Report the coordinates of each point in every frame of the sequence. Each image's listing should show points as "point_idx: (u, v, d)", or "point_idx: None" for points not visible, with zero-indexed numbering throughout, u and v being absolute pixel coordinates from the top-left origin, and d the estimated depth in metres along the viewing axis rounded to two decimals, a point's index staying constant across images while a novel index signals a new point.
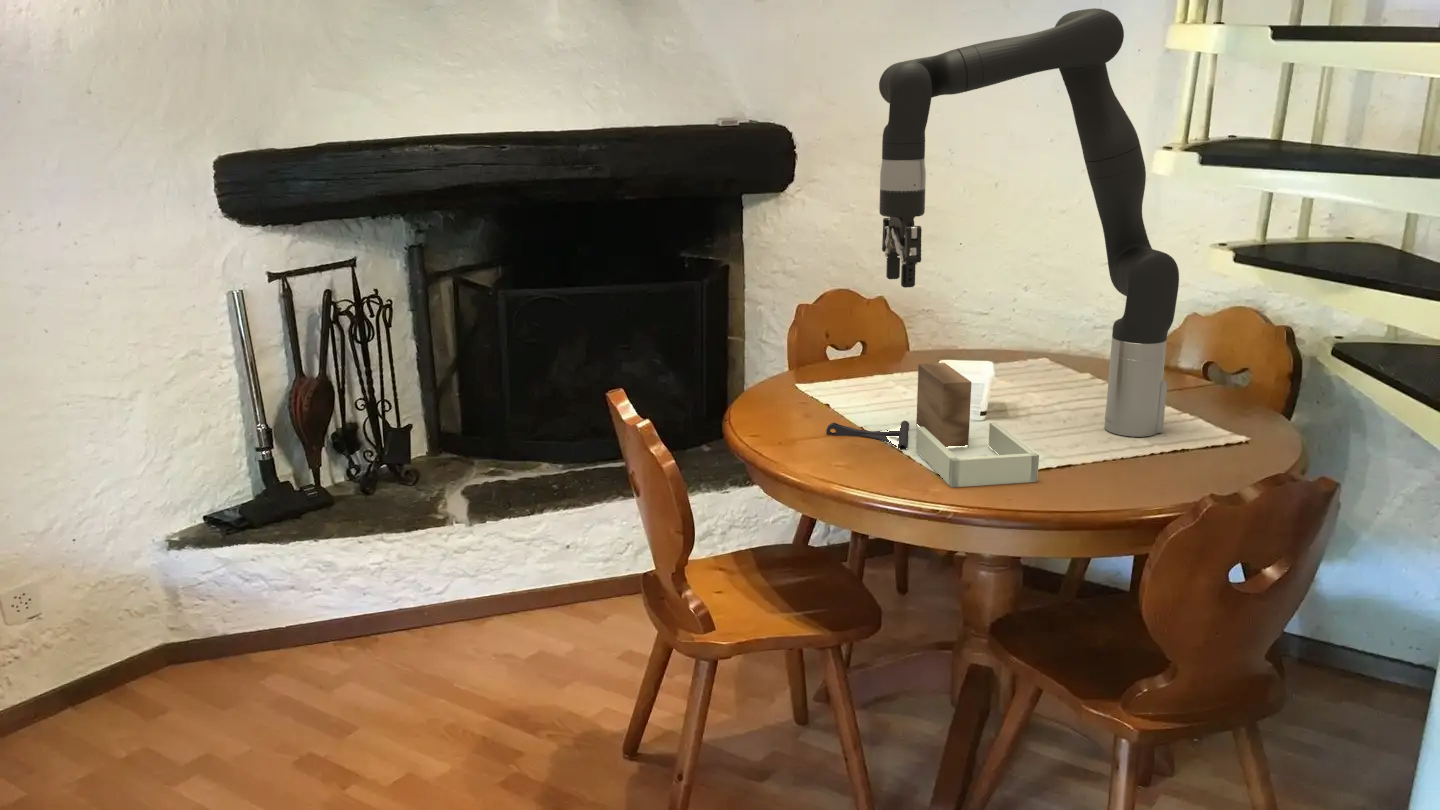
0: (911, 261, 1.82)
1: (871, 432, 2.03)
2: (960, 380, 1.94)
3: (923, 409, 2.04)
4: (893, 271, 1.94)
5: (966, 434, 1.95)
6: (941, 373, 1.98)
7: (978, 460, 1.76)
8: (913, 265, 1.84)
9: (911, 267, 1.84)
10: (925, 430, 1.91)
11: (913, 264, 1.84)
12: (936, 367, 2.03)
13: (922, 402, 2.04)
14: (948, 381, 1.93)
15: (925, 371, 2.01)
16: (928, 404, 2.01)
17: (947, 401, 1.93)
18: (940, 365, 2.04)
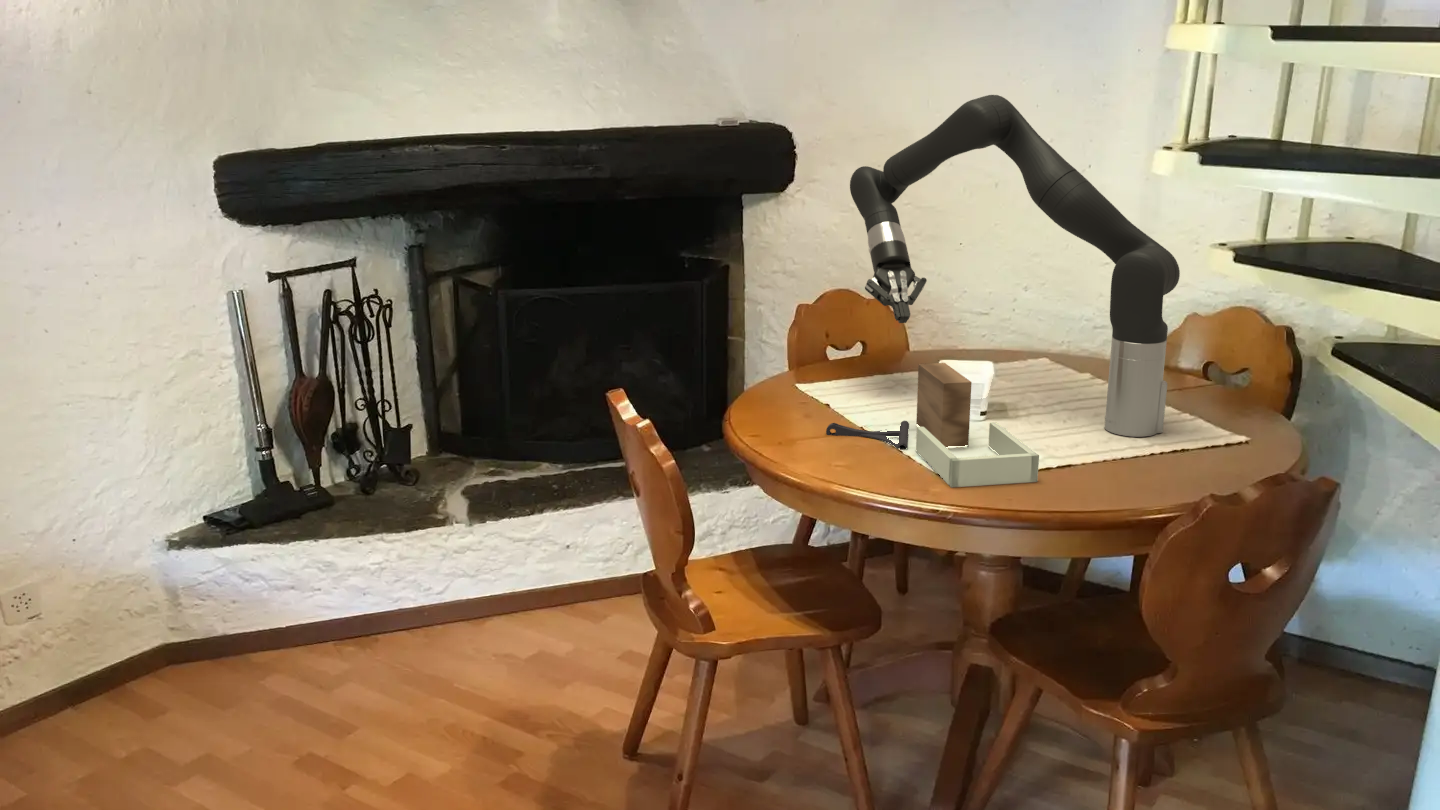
0: (884, 302, 2.22)
1: (870, 432, 2.03)
2: (960, 380, 1.94)
3: (923, 409, 2.04)
4: None
5: (966, 434, 1.95)
6: (941, 373, 1.98)
7: (978, 460, 1.76)
8: (893, 303, 2.21)
9: (894, 306, 2.21)
10: (925, 430, 1.91)
11: (892, 303, 2.21)
12: (936, 367, 2.03)
13: (922, 402, 2.04)
14: (948, 381, 1.93)
15: (925, 371, 2.01)
16: (928, 404, 2.01)
17: (947, 401, 1.93)
18: (940, 365, 2.04)
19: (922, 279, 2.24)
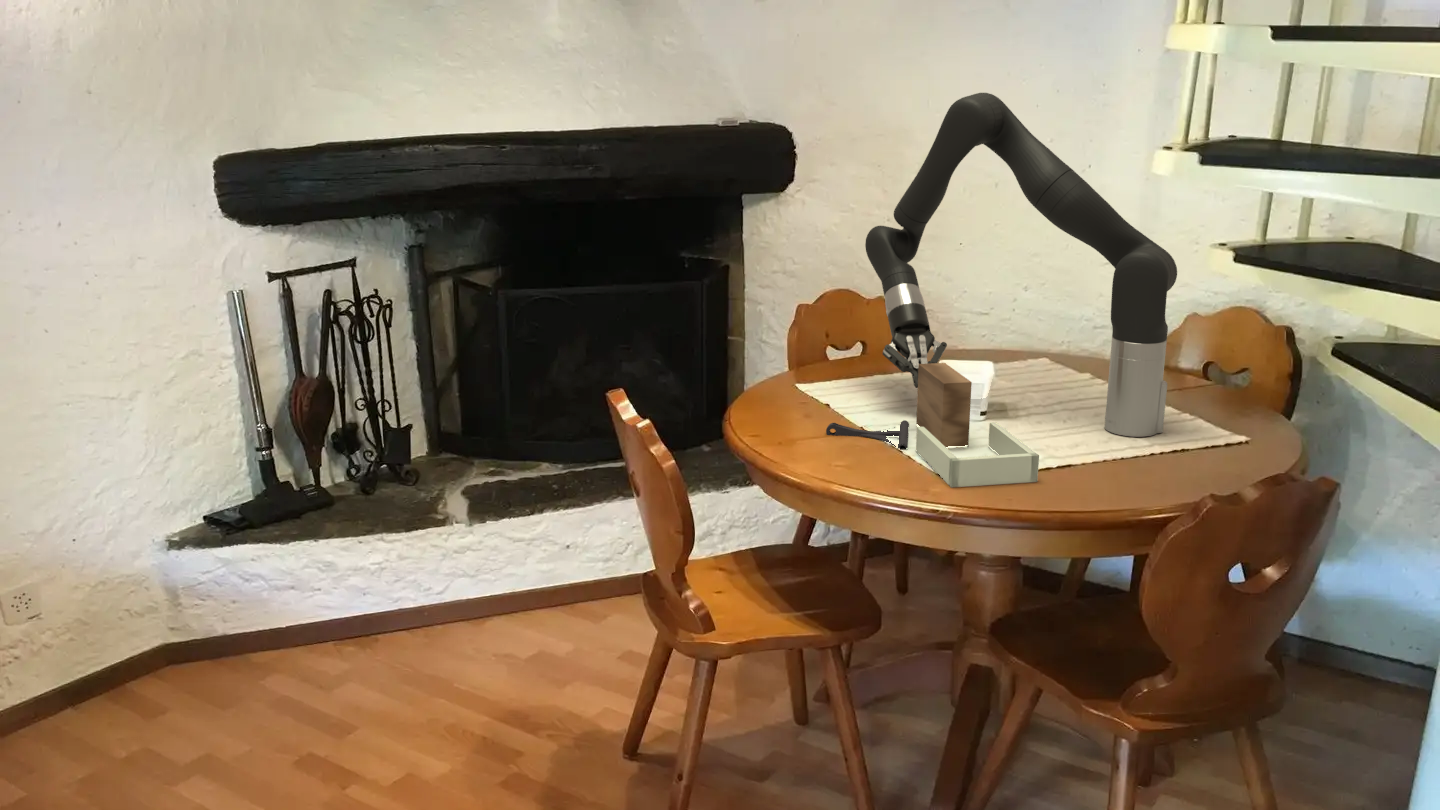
0: (902, 368, 2.13)
1: (870, 432, 2.03)
2: (961, 380, 1.94)
3: (923, 409, 2.04)
4: None
5: (966, 434, 1.95)
6: (941, 373, 1.98)
7: (978, 460, 1.76)
8: (912, 370, 2.12)
9: (913, 372, 2.12)
10: (925, 430, 1.91)
11: (911, 369, 2.12)
12: (936, 367, 2.03)
13: (922, 402, 2.04)
14: (948, 381, 1.93)
15: (925, 371, 2.01)
16: (928, 404, 2.01)
17: (948, 401, 1.93)
18: (940, 365, 2.04)
19: (942, 344, 2.15)
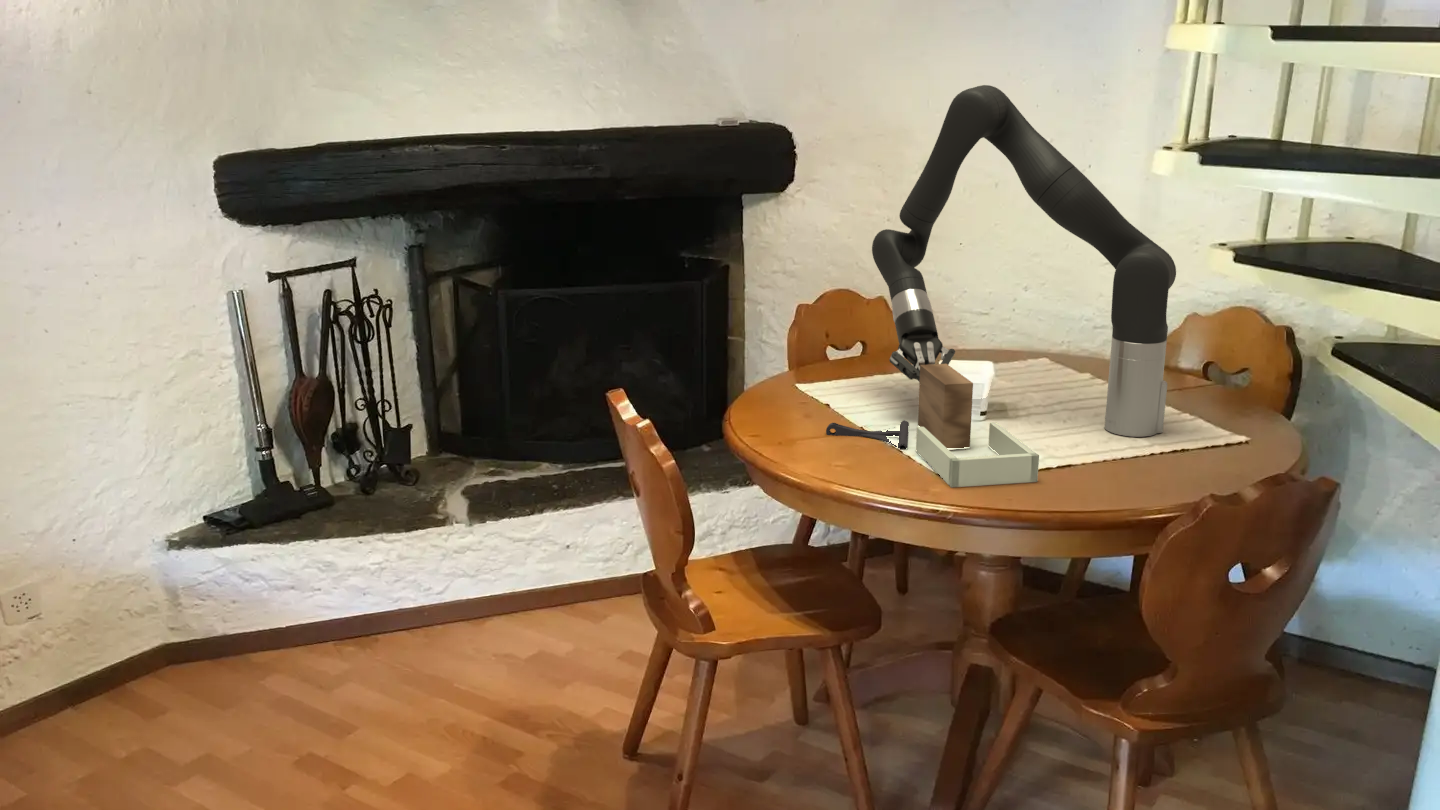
0: (909, 376, 2.09)
1: (870, 432, 2.03)
2: (962, 381, 1.93)
3: (925, 410, 2.03)
4: None
5: (968, 435, 1.94)
6: (943, 374, 1.97)
7: (978, 460, 1.76)
8: (919, 377, 2.08)
9: None
10: (925, 430, 1.91)
11: (918, 377, 2.08)
12: (938, 368, 2.02)
13: (924, 403, 2.03)
14: (949, 382, 1.92)
15: (927, 372, 2.00)
16: (930, 405, 2.00)
17: (949, 402, 1.92)
18: (942, 366, 2.03)
19: (950, 350, 2.11)
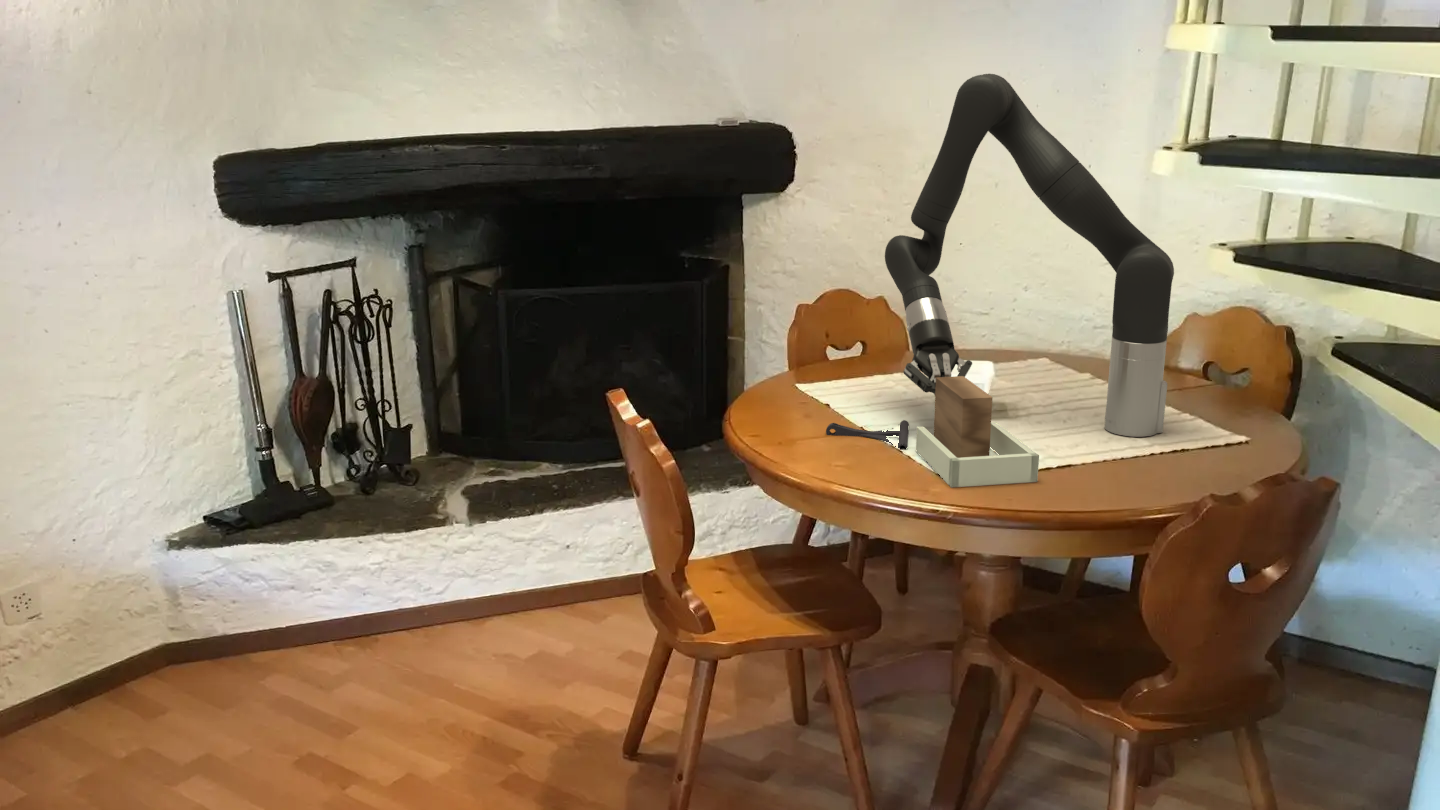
0: (925, 389, 2.00)
1: (870, 432, 2.03)
2: (981, 395, 1.84)
3: (941, 425, 1.94)
4: None
5: (986, 452, 1.85)
6: (960, 387, 1.89)
7: (978, 460, 1.76)
8: None
9: None
10: (925, 430, 1.91)
11: (934, 390, 1.99)
12: (954, 381, 1.93)
13: (940, 417, 1.94)
14: (968, 396, 1.83)
15: (943, 385, 1.92)
16: (946, 420, 1.91)
17: (967, 418, 1.83)
18: (959, 379, 1.94)
19: (967, 362, 2.02)
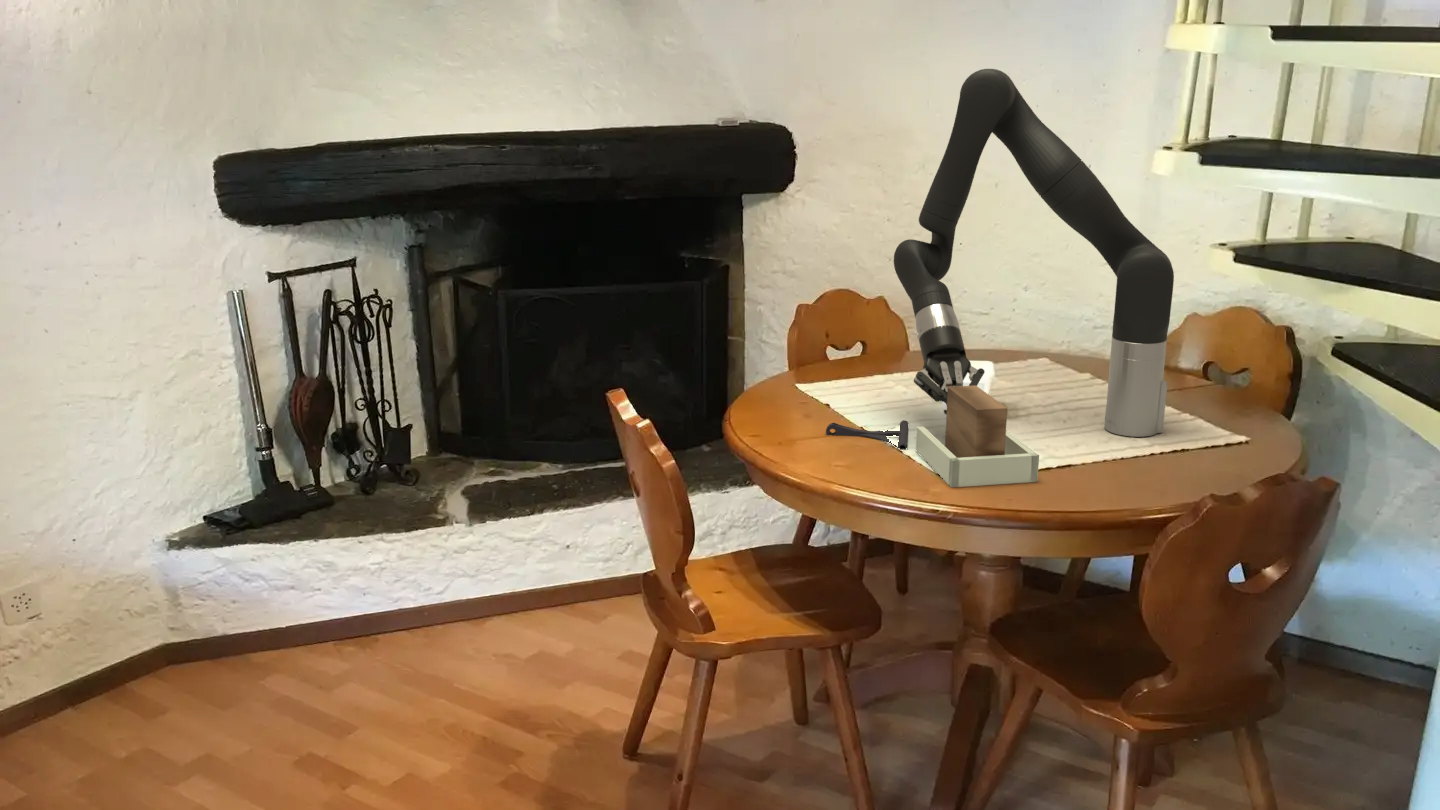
0: (936, 398, 1.94)
1: (870, 432, 2.03)
2: (995, 405, 1.78)
3: (953, 436, 1.88)
4: None
5: None
6: (973, 397, 1.83)
7: (978, 460, 1.76)
8: None
9: None
10: (925, 430, 1.91)
11: (945, 399, 1.93)
12: (967, 390, 1.87)
13: (952, 428, 1.88)
14: (982, 407, 1.77)
15: (955, 395, 1.86)
16: (959, 431, 1.85)
17: (981, 429, 1.77)
18: (971, 388, 1.88)
19: (979, 370, 1.96)
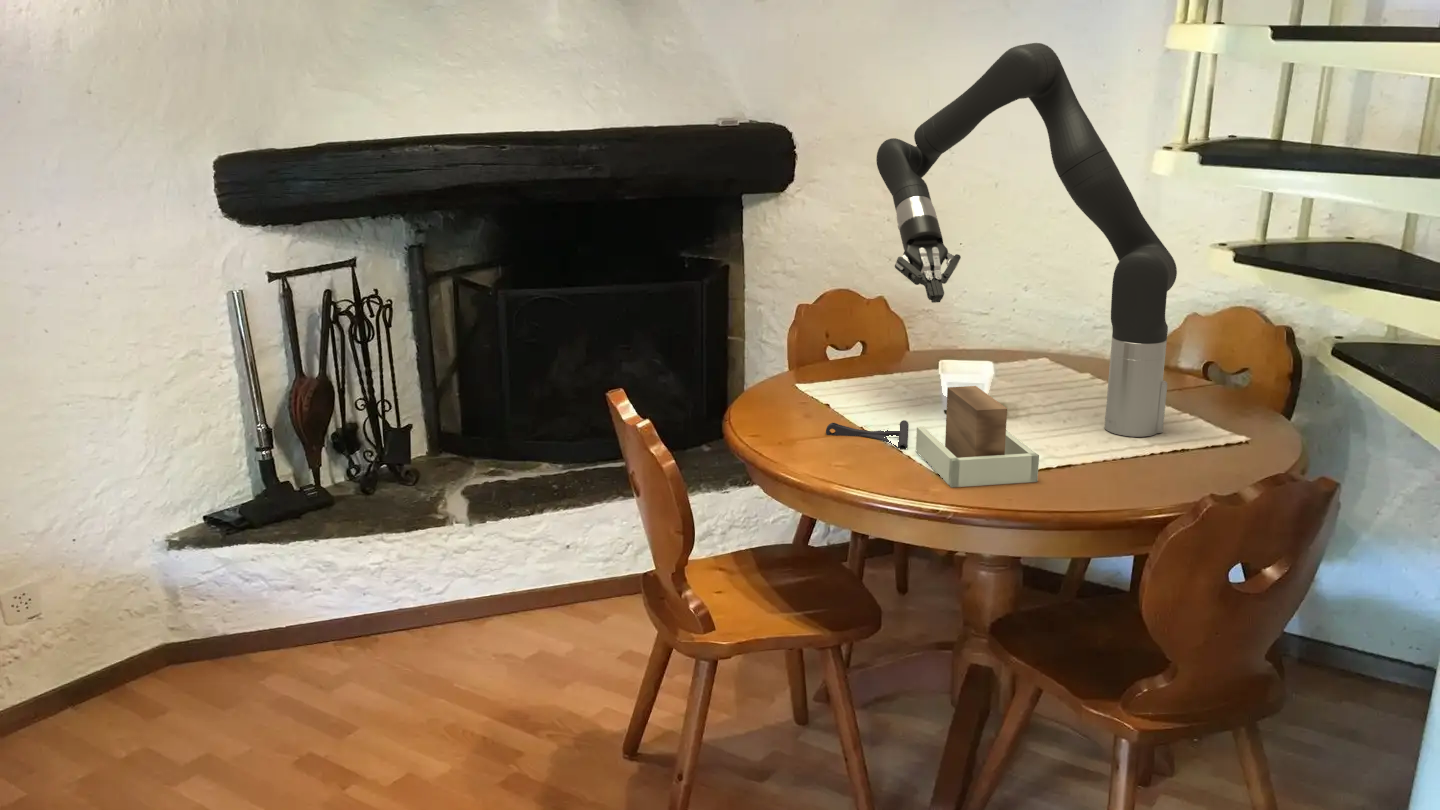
0: (915, 281, 2.08)
1: (870, 432, 2.03)
2: (995, 406, 1.78)
3: (953, 436, 1.88)
4: None
5: None
6: (973, 398, 1.83)
7: (978, 460, 1.76)
8: (925, 282, 2.07)
9: (926, 284, 2.07)
10: (925, 430, 1.91)
11: (924, 281, 2.07)
12: (967, 391, 1.87)
13: (952, 428, 1.88)
14: (982, 407, 1.77)
15: (955, 395, 1.86)
16: (959, 431, 1.85)
17: (981, 430, 1.77)
18: (971, 388, 1.88)
19: (956, 256, 2.10)
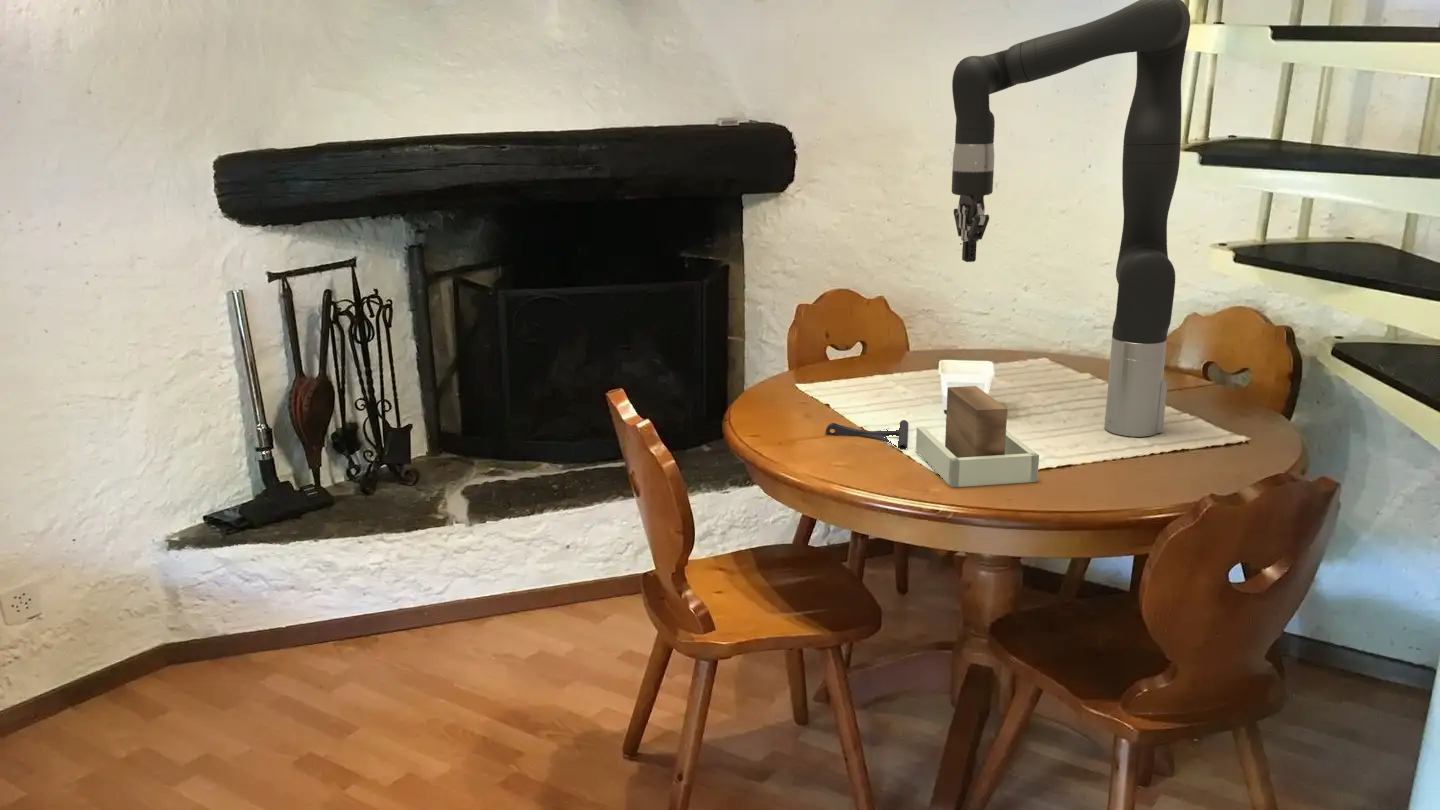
0: (973, 238, 2.07)
1: (870, 432, 2.03)
2: (995, 406, 1.78)
3: (953, 436, 1.88)
4: None
5: None
6: (973, 398, 1.83)
7: (978, 460, 1.76)
8: (975, 242, 2.09)
9: (973, 244, 2.09)
10: (925, 430, 1.91)
11: (975, 241, 2.09)
12: (967, 391, 1.87)
13: (952, 428, 1.88)
14: (982, 407, 1.77)
15: (955, 395, 1.86)
16: (959, 431, 1.85)
17: (981, 430, 1.77)
18: (971, 389, 1.88)
19: None
